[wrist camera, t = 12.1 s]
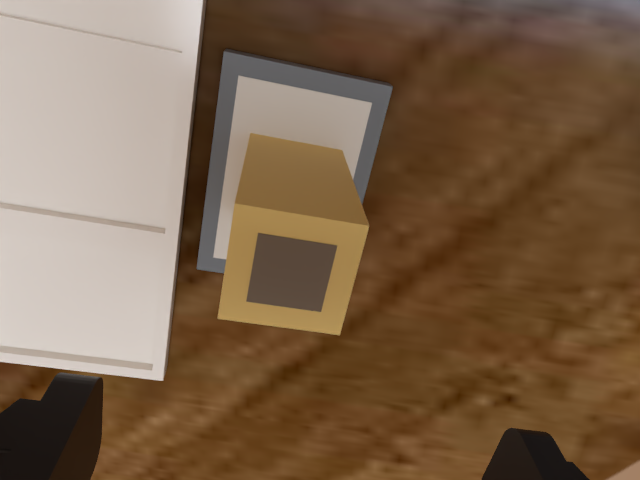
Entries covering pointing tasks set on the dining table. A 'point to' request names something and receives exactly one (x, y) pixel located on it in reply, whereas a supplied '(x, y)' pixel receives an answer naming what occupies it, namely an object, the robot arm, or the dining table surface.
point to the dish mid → (93, 141)
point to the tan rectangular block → (293, 238)
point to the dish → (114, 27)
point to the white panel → (85, 301)
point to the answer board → (284, 129)
